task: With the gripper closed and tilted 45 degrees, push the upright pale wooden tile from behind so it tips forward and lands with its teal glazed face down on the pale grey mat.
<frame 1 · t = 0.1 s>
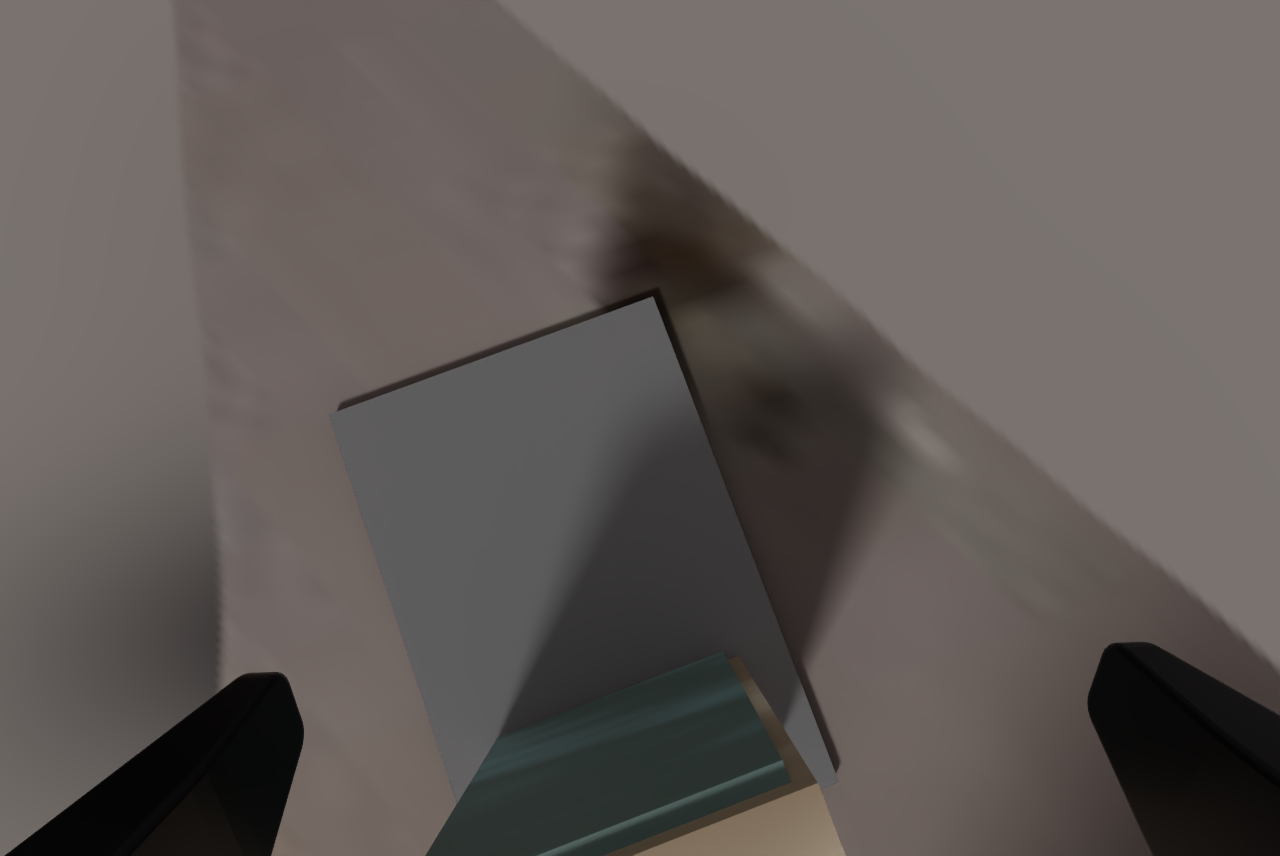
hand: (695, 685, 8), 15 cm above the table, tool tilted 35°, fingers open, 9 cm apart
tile: (633, 750, 22), resting on mat
mat: (578, 591, 23), on the table
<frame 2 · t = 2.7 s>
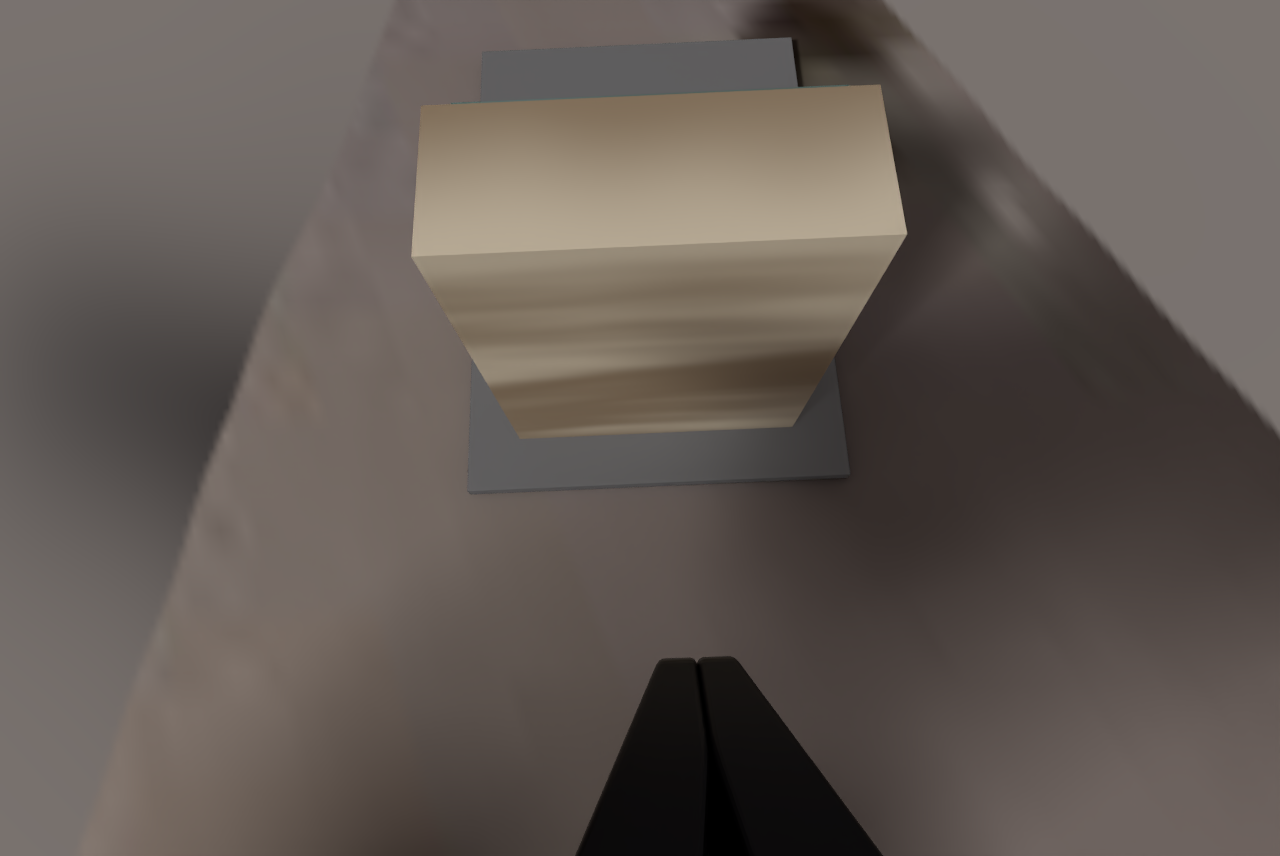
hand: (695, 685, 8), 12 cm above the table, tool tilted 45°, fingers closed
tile: (653, 385, 22), resting on mat
mat: (646, 247, 24), on the table
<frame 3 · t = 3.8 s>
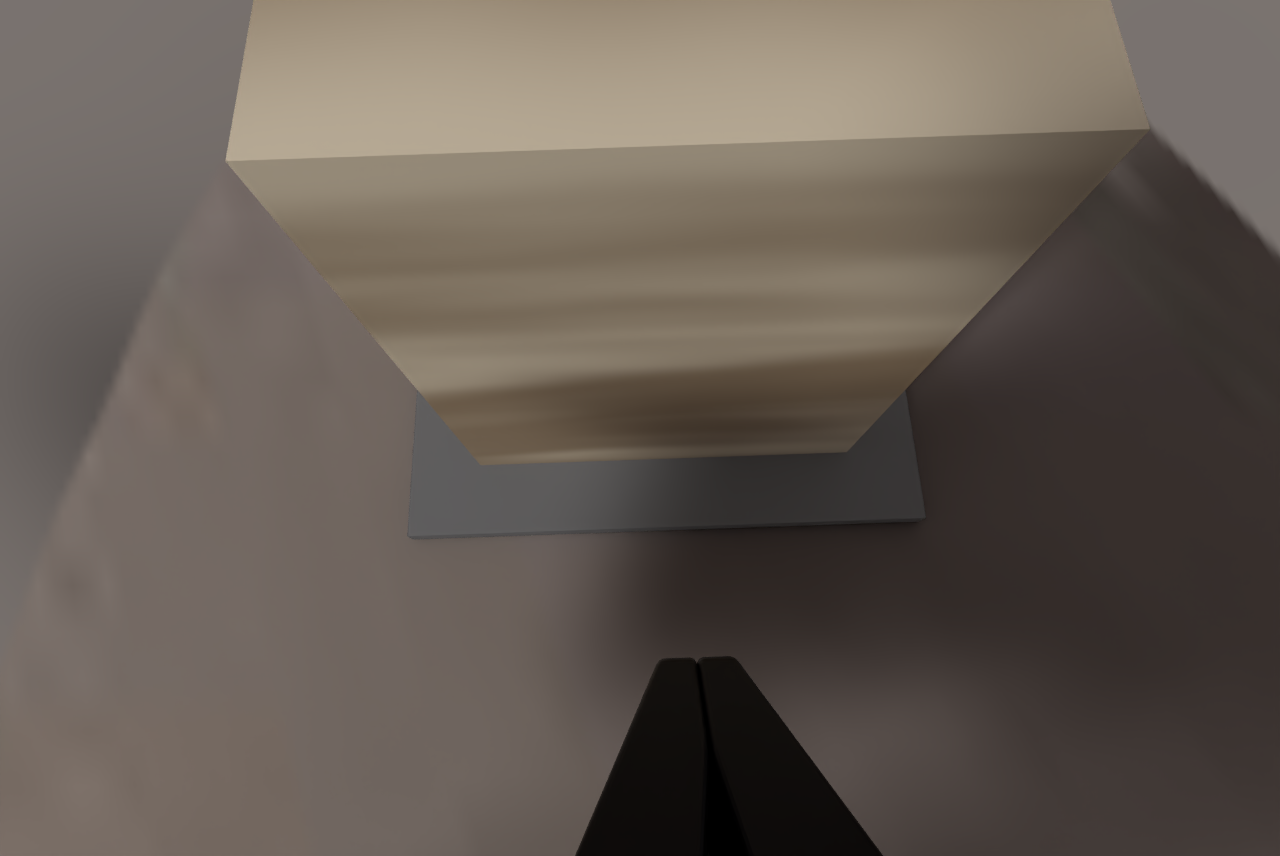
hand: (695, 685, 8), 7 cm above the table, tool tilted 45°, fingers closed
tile: (660, 394, 16), resting on mat
mat: (651, 214, 18), on the table
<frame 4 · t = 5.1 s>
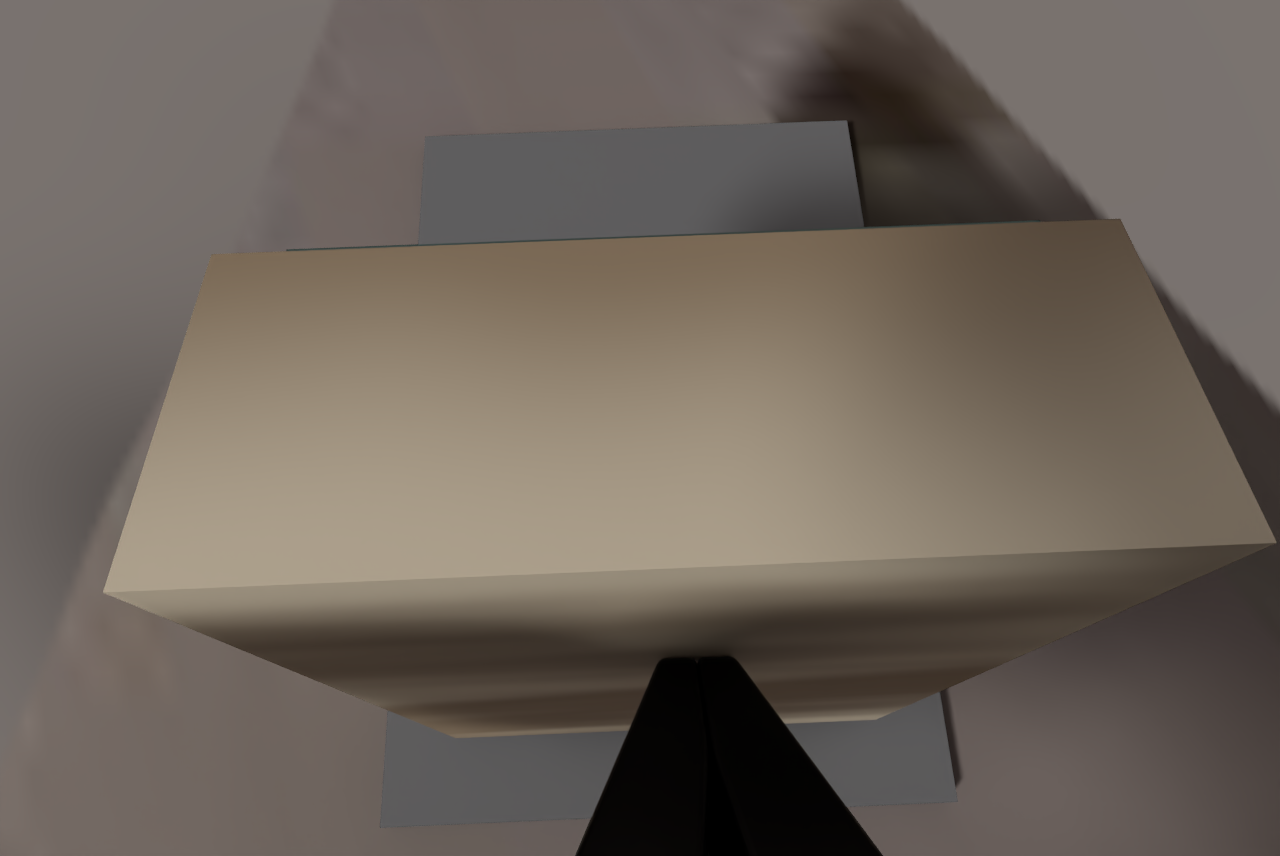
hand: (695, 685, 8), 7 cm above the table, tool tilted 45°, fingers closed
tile: (661, 648, 14), point 1 cm above the table, tilted 10°, touching mat
mat: (650, 423, 17), on the table
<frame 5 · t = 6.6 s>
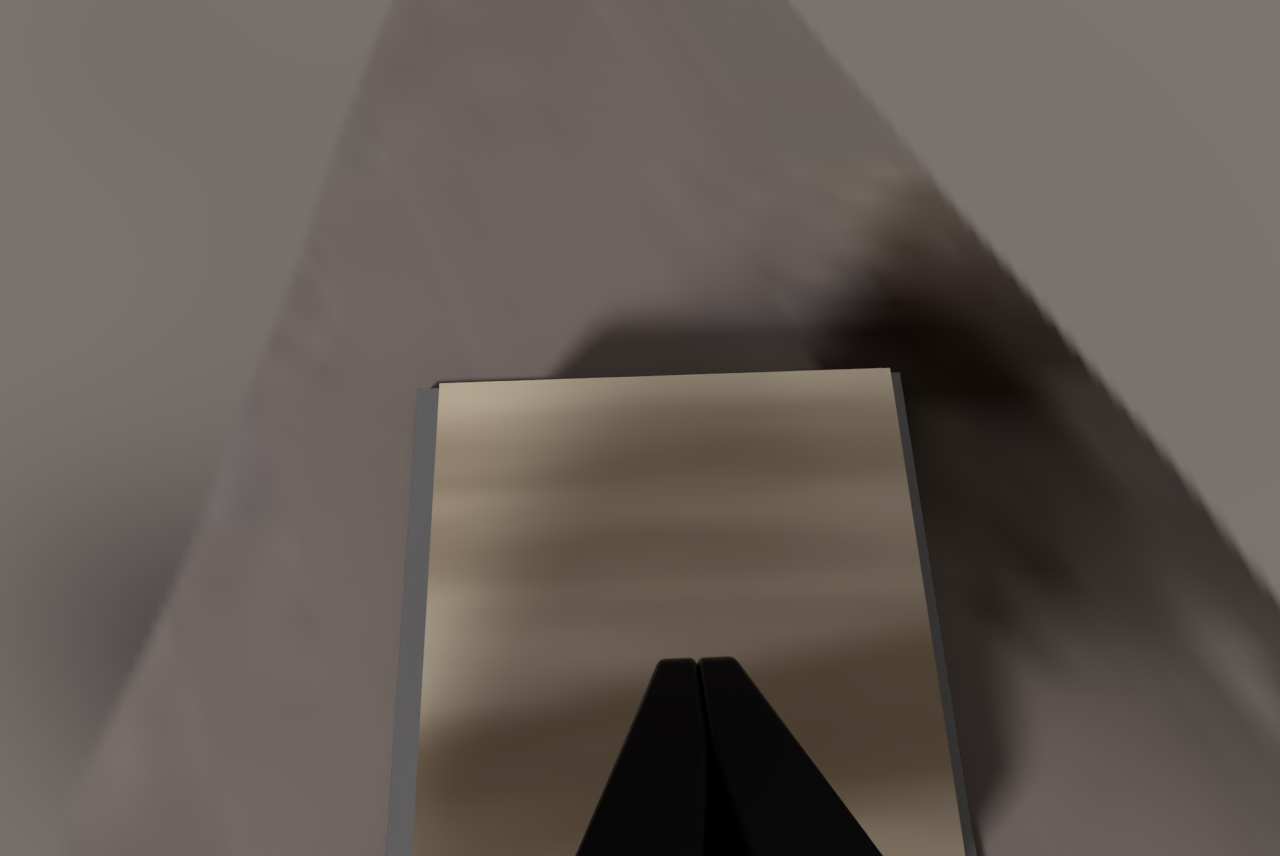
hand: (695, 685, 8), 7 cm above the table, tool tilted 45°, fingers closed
mat: (675, 762, 14), on the table
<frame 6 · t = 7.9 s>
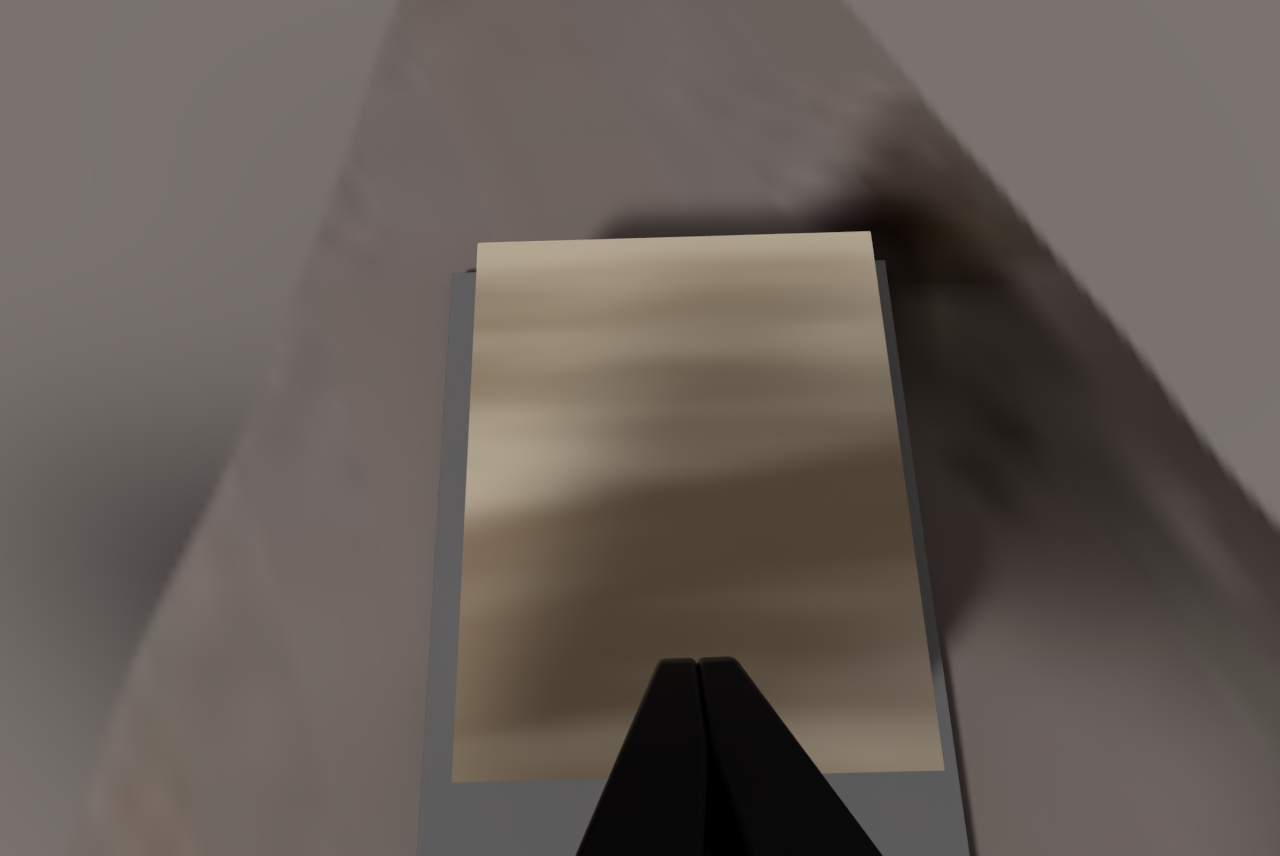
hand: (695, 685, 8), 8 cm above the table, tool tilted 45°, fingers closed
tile: (692, 763, 13), point 2 cm above the table, tilted 90°, touching mat
mat: (680, 589, 16), on the table
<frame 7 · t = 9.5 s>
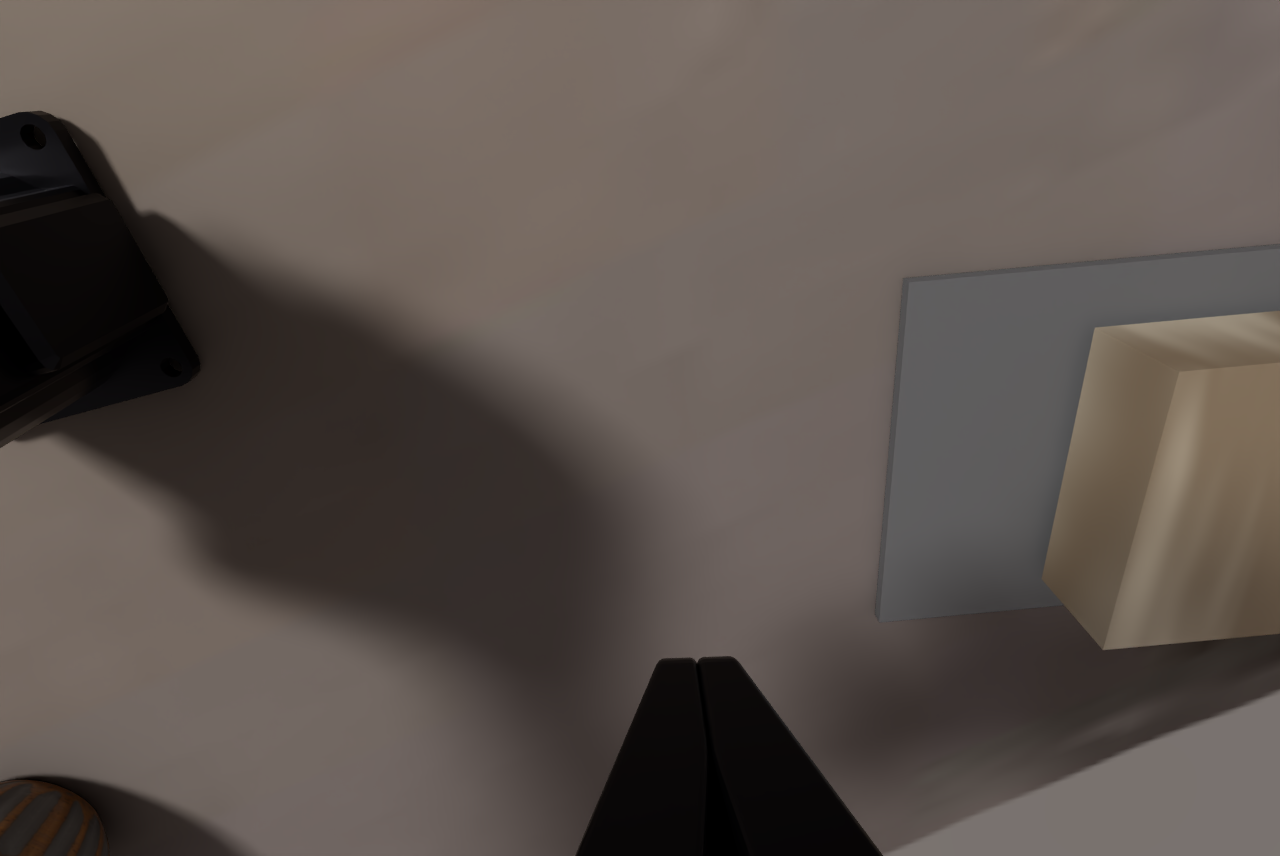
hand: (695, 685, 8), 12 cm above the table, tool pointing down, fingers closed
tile: (1098, 492, 19), point 2 cm above the table, tilted 90°, touching mat
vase: (45, 811, 26), on the table
mat: (1162, 440, 21), on the table
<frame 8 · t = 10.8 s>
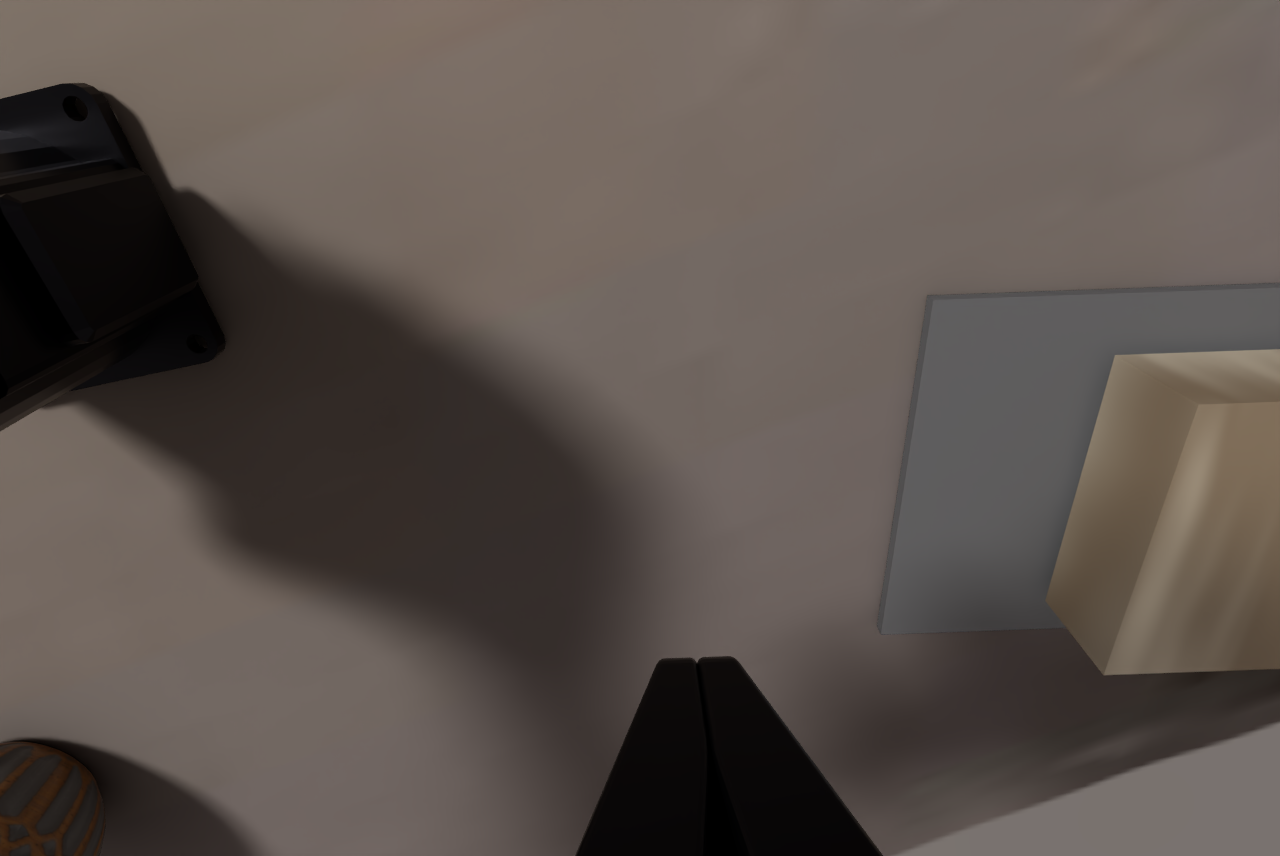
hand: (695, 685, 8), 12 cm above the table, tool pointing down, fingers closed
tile: (1109, 519, 19), point 2 cm above the table, tilted 90°, touching mat
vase: (43, 774, 26), on the table
mat: (1174, 470, 21), on the table
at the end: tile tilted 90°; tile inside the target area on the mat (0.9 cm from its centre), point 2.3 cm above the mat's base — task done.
